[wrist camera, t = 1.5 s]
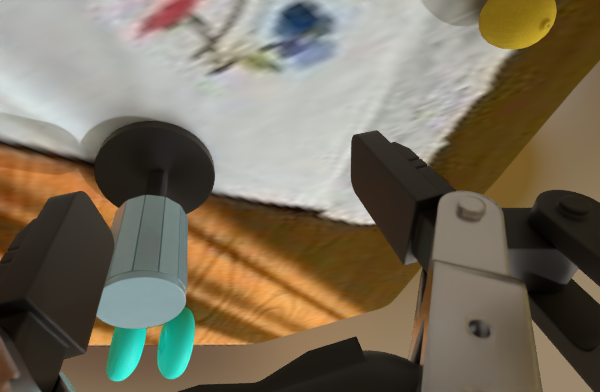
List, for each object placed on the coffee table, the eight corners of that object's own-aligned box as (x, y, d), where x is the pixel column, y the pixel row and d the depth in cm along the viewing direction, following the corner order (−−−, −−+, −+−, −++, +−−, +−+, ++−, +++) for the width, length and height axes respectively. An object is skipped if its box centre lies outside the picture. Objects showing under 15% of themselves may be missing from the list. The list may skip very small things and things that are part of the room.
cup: (100, 226, 28) (72, 316, 21) (142, 183, 27) (126, 265, 20) (160, 252, 32) (152, 336, 25) (200, 216, 30) (203, 294, 24)
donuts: (177, 330, 55) (176, 391, 47) (113, 327, 50) (99, 396, 42) (196, 294, 50) (198, 356, 43) (127, 288, 46) (115, 356, 38)
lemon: (460, 45, 36) (514, 66, 30) (465, -10, 33) (528, 0, 26) (503, 30, 36) (565, 47, 30) (514, -27, 33) (587, -20, 27)
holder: (72, 176, 33) (0, 320, 21) (143, 96, 31) (110, 207, 18) (170, 225, 41) (162, 354, 28) (235, 165, 38) (258, 279, 25)
